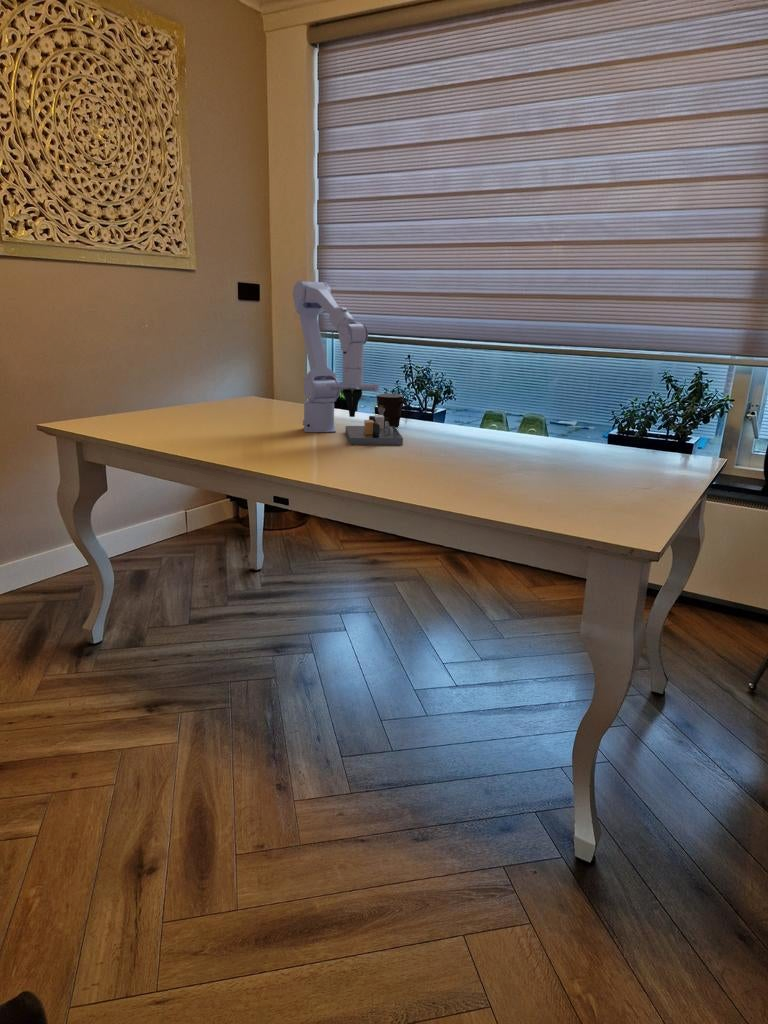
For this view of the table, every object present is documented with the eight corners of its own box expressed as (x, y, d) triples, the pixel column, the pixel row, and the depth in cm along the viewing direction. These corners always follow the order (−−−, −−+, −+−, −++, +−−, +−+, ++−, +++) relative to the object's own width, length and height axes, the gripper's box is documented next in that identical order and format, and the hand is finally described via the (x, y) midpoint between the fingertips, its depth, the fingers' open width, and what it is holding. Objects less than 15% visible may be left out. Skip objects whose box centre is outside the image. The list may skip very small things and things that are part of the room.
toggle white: (375, 428, 198) (376, 417, 197) (374, 426, 202) (374, 414, 201) (383, 428, 199) (384, 417, 198) (382, 426, 202) (382, 414, 201)
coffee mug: (372, 424, 217) (373, 393, 213) (397, 423, 219) (398, 393, 216) (383, 431, 206) (384, 398, 203) (409, 430, 209) (410, 398, 205)
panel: (349, 444, 185) (350, 423, 183) (345, 432, 202) (345, 412, 200) (402, 445, 187) (403, 424, 185) (394, 432, 204) (394, 413, 202)
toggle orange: (365, 434, 189) (365, 422, 188) (364, 431, 193) (364, 419, 192) (373, 434, 190) (374, 422, 189) (372, 431, 193) (372, 420, 192)
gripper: (327, 368, 180) (327, 418, 185) (380, 369, 182) (378, 418, 186) (326, 366, 187) (326, 414, 191) (377, 367, 189) (375, 414, 193)
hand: (351, 416), depth 189 cm, fingers closed
